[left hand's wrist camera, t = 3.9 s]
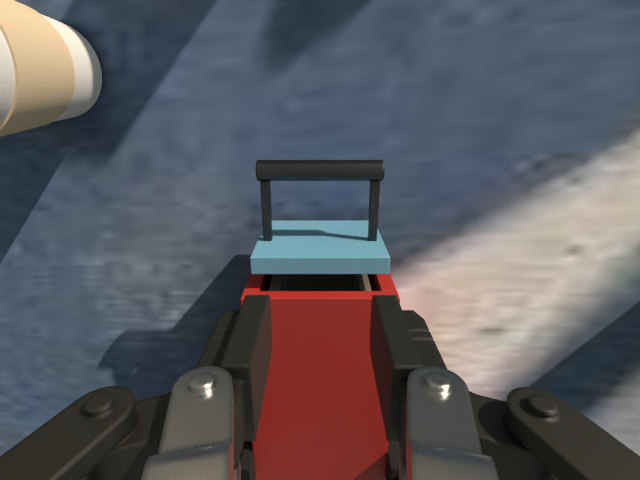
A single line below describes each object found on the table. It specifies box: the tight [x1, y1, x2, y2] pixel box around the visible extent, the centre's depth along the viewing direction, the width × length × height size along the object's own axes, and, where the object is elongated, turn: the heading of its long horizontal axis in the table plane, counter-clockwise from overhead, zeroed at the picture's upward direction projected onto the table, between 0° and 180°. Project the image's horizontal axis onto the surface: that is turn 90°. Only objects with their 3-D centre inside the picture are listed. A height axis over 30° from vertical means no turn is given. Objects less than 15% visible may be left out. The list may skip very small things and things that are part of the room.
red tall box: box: [240, 273, 400, 480], centre depth 33 cm, size 19×10×10 cm, turn 0°
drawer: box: [250, 160, 390, 291], centre depth 31 cm, size 24×9×8 cm, turn 0°
